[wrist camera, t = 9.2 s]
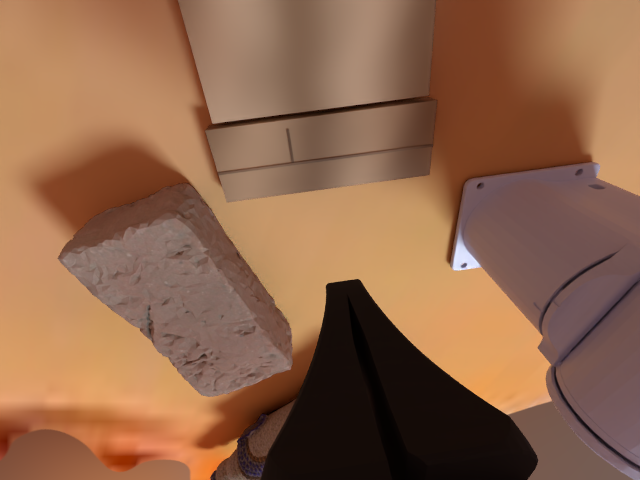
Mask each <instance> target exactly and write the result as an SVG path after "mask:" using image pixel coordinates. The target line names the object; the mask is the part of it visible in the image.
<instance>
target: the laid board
mask: <svg viewBox="0 0 640 480" xmlns="http://www.w3.org/2000/svg"><path fill="white" fill-rule="evenodd" d="M436 108H437V100H435V99H432V98H429V97H427V98H419V99H412V100H404V101H396V102H388V103H381V104H373V105H365V106H358V107H350V108H342V109H334V110H327V111H319V112H311V113H304V114H296V115H288V116H281V117H273V118H265V119H257V120H250V121H242V122H234V123H227V124H219V125H211V126H209V127H208V128H207V129H206V130H205V132H206V136H207V139H208V142H209V145H210V149H211V152H212V155H213V158H214V162H215V165H216V168H217V171H218V175H219V178H220V181H221V185H222V188H223V191H224V194H225V198H226V201H227V202H234V201H242V200H249V199H256V198H264V197H271V196H278V195H286V194H293V193H301V192H308V191H315V190H323V189H330V188H337V187H345V186H352V185H359V184H367V183H374V182H382V181H389V180H396V179H404V178H411V177H418V176H426V175H429V174H430V165H431V155H432V147H433V136H434V127H435V117H436Z"/></svg>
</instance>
